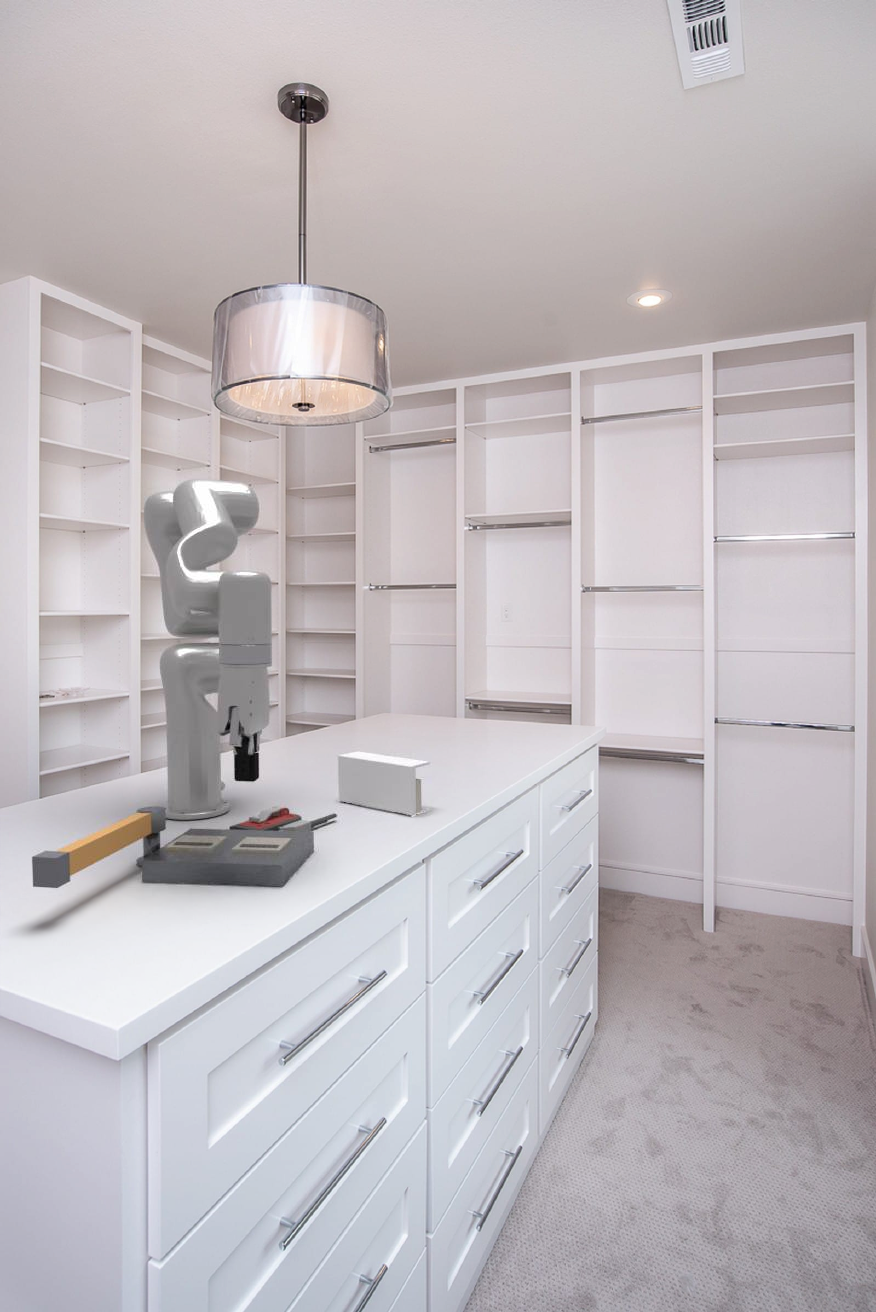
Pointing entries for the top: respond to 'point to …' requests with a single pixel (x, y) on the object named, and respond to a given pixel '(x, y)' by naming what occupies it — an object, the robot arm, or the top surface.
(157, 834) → the pivot post
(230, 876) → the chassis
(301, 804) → the top surface
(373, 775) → the cigarette display
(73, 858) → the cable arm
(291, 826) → the walkie-talkie
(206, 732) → the robot arm
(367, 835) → the top surface
